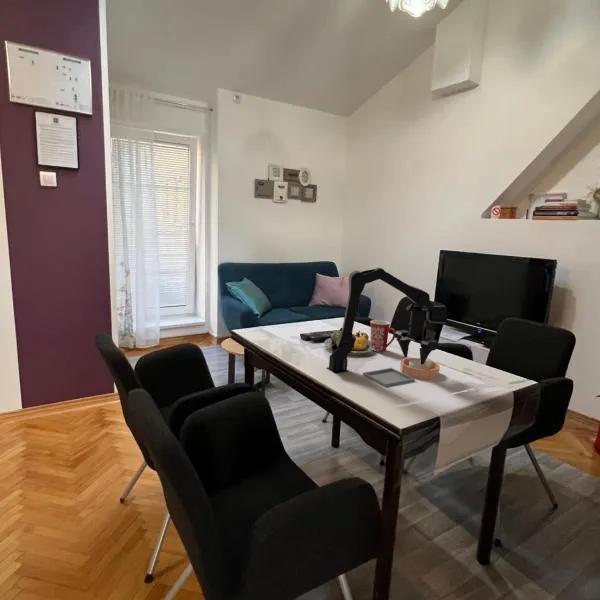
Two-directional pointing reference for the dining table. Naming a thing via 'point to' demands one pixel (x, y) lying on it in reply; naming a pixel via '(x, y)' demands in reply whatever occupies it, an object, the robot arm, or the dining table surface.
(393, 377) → the parts tray
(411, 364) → the pebble grey
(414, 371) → the bowl
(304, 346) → the dining table surface
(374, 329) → the mug
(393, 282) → the robot arm
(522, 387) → the dining table surface
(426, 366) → the pebble sand
